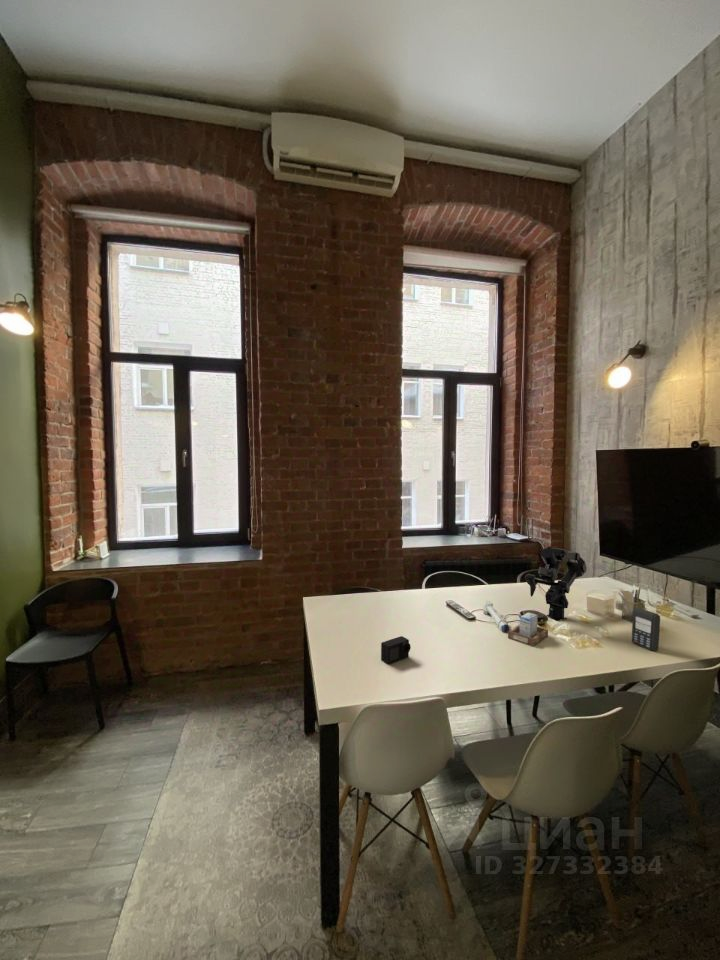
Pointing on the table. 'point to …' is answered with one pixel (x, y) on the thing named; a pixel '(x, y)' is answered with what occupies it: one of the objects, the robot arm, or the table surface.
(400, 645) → the digital camera
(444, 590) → the table surface
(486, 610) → the white stick
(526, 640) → the tray
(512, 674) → the table surface
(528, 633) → the medicine box
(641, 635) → the card reader
